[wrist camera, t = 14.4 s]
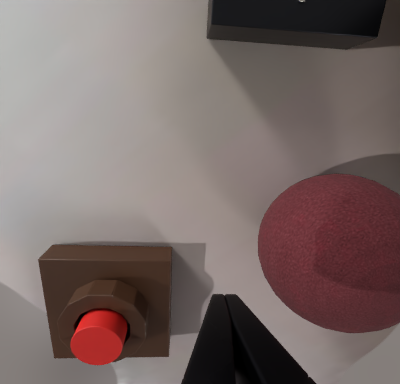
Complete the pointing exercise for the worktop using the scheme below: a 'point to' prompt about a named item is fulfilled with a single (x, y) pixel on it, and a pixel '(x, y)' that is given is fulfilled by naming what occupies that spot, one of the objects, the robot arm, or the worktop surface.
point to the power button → (99, 336)
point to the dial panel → (296, 21)
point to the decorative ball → (335, 252)
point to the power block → (109, 293)
